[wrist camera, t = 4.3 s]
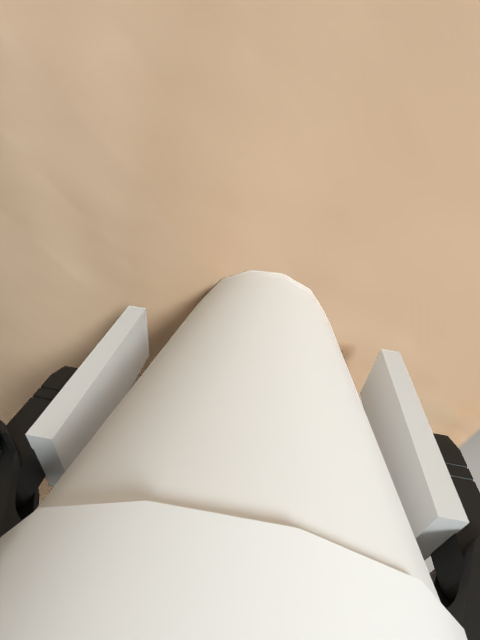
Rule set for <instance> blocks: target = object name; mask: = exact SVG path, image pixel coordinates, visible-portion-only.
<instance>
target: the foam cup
mask: <svg viewBox="0 0 480 640" xmlns="http://www.w3.org/2000/svg"><path fill="white" fill-rule="evenodd" d="M0 640H467V637H466V634H465V630H464V629H463V627H462V626H461V625H460V624H459V623H458V622H457V621H456V619H455V618H454V617H453V616H452V615H451V614H450V613H449V611H448V610H447V609H446V608H445V607H444V606H443V605H442V603H441V602H440V599H439V597H438V594H437V592H436V589H435V587H434V584H433V582H432V579H431V577H430V574H429V572H428V569H427V567H426V564H425V562H424V559H423V556H422V554H421V551H420V549H419V546H418V544H417V541H416V539H415V536H414V534H413V531H412V529H411V526H410V524H409V521H408V519H407V516H406V514H405V511H404V509H403V506H402V504H401V501H400V499H399V496H398V494H397V491H396V489H395V486H394V484H393V481H392V479H391V476H390V473H389V471H388V468H387V466H386V463H385V461H384V458H383V456H382V453H381V451H380V448H379V446H378V443H377V441H376V438H375V436H374V433H373V431H372V428H371V426H370V423H369V421H368V418H367V416H366V413H365V411H364V408H363V406H362V403H361V401H360V398H359V396H358V393H357V390H356V388H355V385H354V383H353V380H352V378H351V375H350V373H349V370H348V368H347V365H346V363H345V360H344V358H343V355H342V353H341V350H340V348H339V345H338V343H337V340H336V338H335V335H334V333H333V330H332V328H331V325H330V323H329V320H328V319H327V317H326V315H325V312H324V310H323V309H322V307H321V305H320V304H319V302H318V301H317V299H316V298H315V296H314V295H313V293H312V291H311V290H310V289H309V288H307V287H305V286H304V285H302V284H300V283H298V282H297V281H295V280H293V279H292V278H290V277H288V276H286V275H285V274H282V273H274V272H265V271H256V270H249V271H246V272H243V273H239V274H236V275H233V276H230V277H227V278H224V279H221V280H220V281H219V282H218V283H217V284H216V285H215V286H214V287H213V288H212V289H211V290H210V291H209V292H208V293H207V294H206V295H205V296H204V297H203V299H202V300H201V301H200V302H199V303H198V304H197V305H196V307H195V308H194V309H193V311H192V312H191V313H190V314H189V316H188V317H187V318H186V319H185V321H184V322H183V323H182V324H181V326H180V327H179V328H178V330H177V331H176V332H175V333H174V335H173V336H172V337H171V338H170V340H169V341H168V342H167V343H166V345H165V346H164V347H163V349H162V350H161V351H160V352H159V354H158V355H157V356H156V357H155V359H154V360H153V361H152V362H151V364H150V365H149V366H148V368H147V369H146V370H145V371H144V373H143V374H142V375H141V376H140V378H139V379H138V380H137V381H136V383H135V384H134V385H133V387H132V388H131V389H130V390H129V392H128V393H127V394H126V395H125V397H124V398H123V399H122V401H121V402H120V403H119V404H118V406H117V407H116V408H115V409H114V411H113V412H112V413H111V414H110V416H109V417H108V418H107V420H106V421H105V422H104V423H103V425H102V426H101V427H100V428H99V430H98V431H97V432H96V433H95V435H94V436H93V437H92V439H91V440H90V441H89V442H88V444H87V445H86V446H85V447H84V449H83V450H82V451H81V452H80V454H79V455H78V456H77V458H76V459H75V460H74V461H73V463H72V464H71V465H70V466H69V468H68V469H67V470H66V471H65V473H64V474H63V475H62V477H61V478H60V479H59V480H58V482H57V483H56V484H55V485H54V487H53V488H52V489H51V491H50V492H49V493H48V494H47V496H46V497H45V498H44V499H43V501H42V502H41V503H40V504H39V506H38V507H37V508H36V510H35V511H34V512H33V513H31V514H30V515H29V516H27V517H26V518H25V519H24V520H22V521H21V522H20V523H18V524H17V525H16V526H14V527H13V528H12V529H11V530H9V531H8V532H7V533H5V534H4V535H3V536H1V538H0Z"/></svg>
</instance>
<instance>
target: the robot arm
mask: <svg viewBox="0 0 480 640" xmlns="http://www.w3.org/2000/svg"><path fill="white" fill-rule="evenodd" d="M149 355H150V354H149V341H148V329H147V316H146V308H142V307H136V306H130V305H129V306H128V307H127V309H126V310H125V311H124V312H123V313H122V315H121V316H120V317H119V318H118V320H117V321H116V322H115V323H114V325H113V326H112V327H111V328H110V330H109V331H108V332H107V333H106V335H105V336H104V337H103V338H102V340H101V341H100V342H99V343H98V345H97V346H96V347H95V348H94V349H93V351H92V352H91V353H90V354H89V356H88V357H87V358H86V359H85V361H84V362H83V363H82V364H81V366H80V367H79V368H73V367H68V366H64V367H63V368H61V369H60V370H58V371H57V372H55V373H53V374H52V375H51V376H50V377H49V378H48V379H47V380H46V381H45V382H44V384H43V385H42V386H41V388H39V389H38V390H37V392H36V393H35V394H34V395H33V398H30V399H29V401H28V402H27V403H26V404H25V405H24V406H23V407H22V408H21V410H20V411H19V412H18V413H17V414H16V415H15V416H14V418H13V419H12V420H11V421H10V422H9V423H8V424H7V425H5V424H4V423H3V422H2V421H1V420H0V538H1V536H3V535H4V534H5V533H7V532H8V531H9V530H11V529H12V528H13V527H14V526H16V525H17V524H18V523H20V522H21V521H22V520H24V519H25V518H26V517H27V516H29V515H30V514H31V513H33V512H34V511H35V510H36V508H37V507H38V506H39V489H38V487H39V485H40V484H41V482H42V481H43V479H44V478H45V477H46V479H47V482H48V484H49V486H53V487H54V485H55V484H56V483H57V482H58V480H59V479H60V478H61V477H62V475H63V474H64V473H65V471H66V470H67V469H68V468H69V466H70V465H71V464H72V463H73V461H74V460H75V459H76V458H77V456H78V455H79V454H80V452H81V451H82V450H83V449H84V447H85V446H86V445H87V444H88V442H89V441H90V440H91V439H92V437H93V436H94V435H95V433H96V432H97V431H98V430H99V428H100V427H101V426H102V425H103V423H104V422H105V421H106V420H107V418H108V417H109V416H110V414H111V413H112V412H113V411H114V409H115V408H116V407H117V406H118V404H119V403H120V402H121V401H122V399H123V398H124V397H125V395H126V394H127V393H128V392H129V390H130V388H131V387H132V385H133V383H134V381H135V380H136V378H137V376H138V374H139V373H140V371H141V369H142V367H143V366H144V364H145V362H146V360H147V359H148V357H149ZM360 395H361V400H362V404H363V408H364V411H365V413H366V416H367V418H368V421H369V423H370V426H371V428H372V431H373V433H374V436H375V438H376V441H377V443H378V446H379V448H380V451H381V453H382V456H383V458H384V461H385V463H386V466H387V468H388V471H389V473H390V476H391V479H392V481H393V484H394V486H395V489H396V491H397V494H398V496H399V499H400V501H401V504H402V506H403V509H404V511H405V514H406V516H407V519H408V521H409V524H410V526H411V529H412V531H413V534H414V536H415V539H416V541H417V544H418V546H419V549H420V551H421V554H422V556H423V559H424V561H425V560H426V559H427V558H428V557H429V556H431V557H432V561H433V565H434V568H435V569H434V570H433V571H432V572H431V573H429V574H430V577H431V579H432V582H433V584H434V587H435V589H436V592H437V594H438V597H439V599H440V602H441V603H442V605H443V606H444V607H445V608H446V609H447V610H448V611H449V613H450V614H451V615H452V616H453V617H454V618H455V619H456V621H457V622H458V623H459V624H460V625H461V626H462V627H463V629H464V630H465V634H466V637H467V640H480V493H479V490H478V488H477V486H476V484H475V482H473V478H472V475H471V473H470V471H469V469H467V464H466V462H465V460H464V458H463V456H462V454H461V452H460V450H459V449H458V448H457V446H456V445H455V444H454V443H453V442H452V440H451V439H450V438H449V437H448V436H445V435H440V434H434V433H433V432H432V430H431V427H430V425H429V422H428V420H427V418H426V415H425V413H424V410H423V408H422V405H421V403H420V400H419V398H418V396H417V393H416V391H415V388H414V386H413V383H412V381H411V378H410V376H409V374H408V371H407V369H406V366H405V364H404V361H403V359H402V356H401V354H400V352H397V351H392V350H386V349H381V350H380V352H379V354H378V357H377V359H376V361H375V363H374V365H373V367H372V369H371V371H370V373H369V375H368V377H367V380H366V382H365V384H364V386H363V388H362V390H361V392H360Z"/></svg>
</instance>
